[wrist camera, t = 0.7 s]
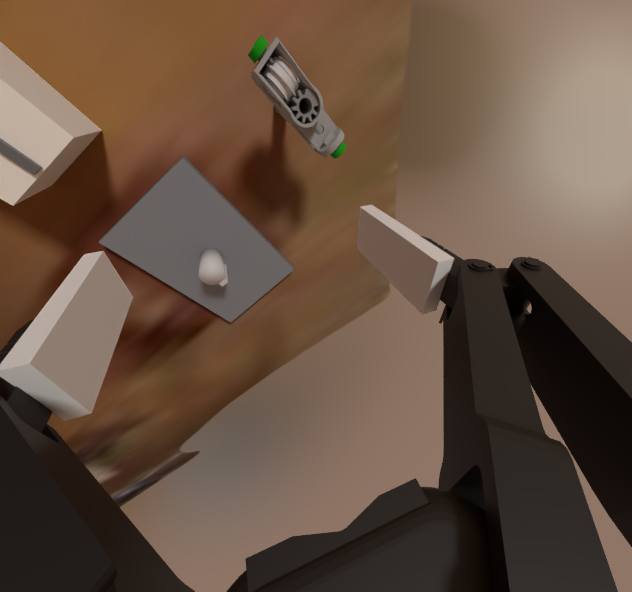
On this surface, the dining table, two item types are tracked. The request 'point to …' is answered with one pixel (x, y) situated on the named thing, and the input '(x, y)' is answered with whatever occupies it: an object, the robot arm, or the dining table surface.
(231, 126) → the dining table surface
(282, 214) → the dining table surface
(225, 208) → the board
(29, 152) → the cream slotted box
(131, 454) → the dining table surface
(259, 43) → the mechanical component
